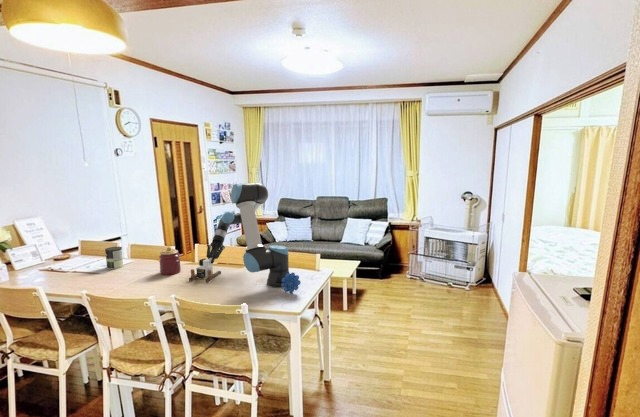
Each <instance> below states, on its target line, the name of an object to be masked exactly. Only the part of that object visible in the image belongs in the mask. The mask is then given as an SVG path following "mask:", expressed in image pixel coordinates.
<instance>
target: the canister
mask: <svg viewBox="0 0 640 417" xmlns="http://www.w3.org/2000/svg"><path fill="white" fill-rule="evenodd" d="M159 254H160V255H159V256H158V258H159V261H158V263H159V272H160V275H162V276H163V275H164V276H171V275H175V274H178V273H181V270H182V268H181V258H180V253H179V250H178V249H175V248H172V247H171V246H168V247H166V249H163V250H162V251H160V253H159Z"/></svg>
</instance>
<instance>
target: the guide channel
mask: <svg viewBox="0 0 640 417" xmlns="http://www.w3.org/2000/svg"><path fill="white" fill-rule="evenodd" d="M207 274H208V278H207V279H206V280H205V283H210V282H211V281H213V280H214V279H215V278H217V277H218V276H220V275H221V274H222V270H218V271H216V272H215V273H213V275H211V270H208V271H207ZM195 279H196V280H197V279H198V278H197V273H196V274H195V269H194V268H192V269H190V277H189V278H188V282H193V281H194V280H195Z"/></svg>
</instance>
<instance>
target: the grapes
mask: <svg viewBox="0 0 640 417" xmlns="http://www.w3.org/2000/svg"><path fill="white" fill-rule="evenodd" d="M299 279H300V276H299V274H296V273H295V272H291V273H290V274H288V273H287V274H286V275H285V277H284V278H282V282H283V283H282V284H281V287H280V288H282V289H283V291H284V292H285V293H287V292H289V293H290V294H293V293H294V291H297V290H298V289H299V285H301V280H299Z"/></svg>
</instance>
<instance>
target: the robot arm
mask: <svg viewBox="0 0 640 417" xmlns="http://www.w3.org/2000/svg"><path fill="white" fill-rule="evenodd" d="M230 192H231V193H230V200H231V203H232V204H235V207H236V208H237V209H239V212H238V213H232V212H230V211H226V212H225V213H224V214H223V215H222V217H220V219H219V221H218V225H217V228H216V230H215V232H214V235H213V238H212V241H211V243H210V244H207V245H206V248H207V249H206V257H207V258H206V259H209V265H210V266H213V265H212V264H214V263H215V260H218V259H219V258H220V256H221V254H222V252H223V250H224V249H226V246H225V245H224V242H225V239H226V236H227V233H228V230H229V227H230V226H231V225H238V224H239V225H240V224H242V228H243V233H244V238H245V243H246V249H245V253H243V256H242V258H243V264H244V266H245V269H246V270H247V271H248V272H249V273H258V272H259V273H260V272H263V271H268V270H269V272H268V276H267V280H266V285H267V286H268V287H270V288H282V287H281V284H282V283H283V282H282V278H284V277H285V275H286V274H287V273H288V274H291V273H290V269H289V266H290V265H289V264H290V263H289V255H290V254H289V249H288V247H287V246H284V245H276V244H275V245H269V246H268V249H266V245H264V244H263V243H262V238H261V235H260V229H259V228H260V227H259V224H258V219H257V215H256V214H257V213H256V212H257V211H258V209H259V208H260V207H261V205H263V204H264V203H266V202H267V200H268V198H269V191H268V188H267V187H266V186H265V185H264V184H263V183H260V182H246V183H243V182H242V183H235V184H233V185H232V187H231V191H230Z"/></svg>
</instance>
